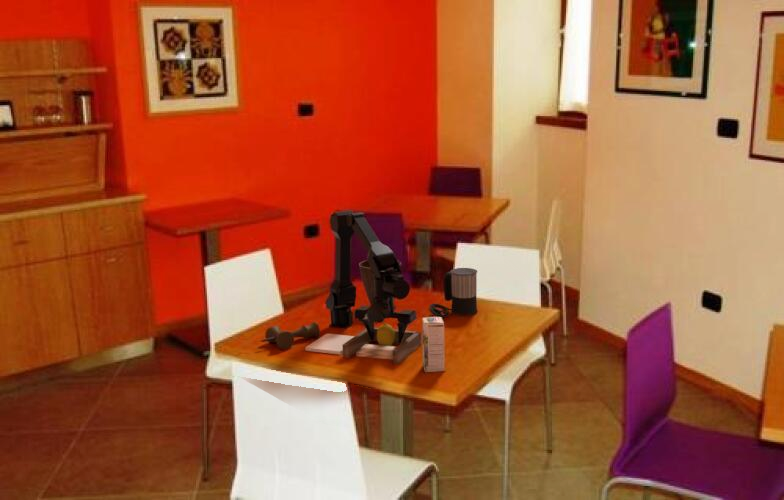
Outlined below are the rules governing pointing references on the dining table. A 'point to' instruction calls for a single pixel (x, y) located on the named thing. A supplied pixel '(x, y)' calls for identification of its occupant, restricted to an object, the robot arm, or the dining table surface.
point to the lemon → (385, 335)
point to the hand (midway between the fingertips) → (386, 341)
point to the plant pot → (369, 279)
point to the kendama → (290, 335)
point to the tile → (329, 344)
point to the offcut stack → (376, 351)
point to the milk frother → (459, 293)
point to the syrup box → (433, 344)
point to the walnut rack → (405, 348)
